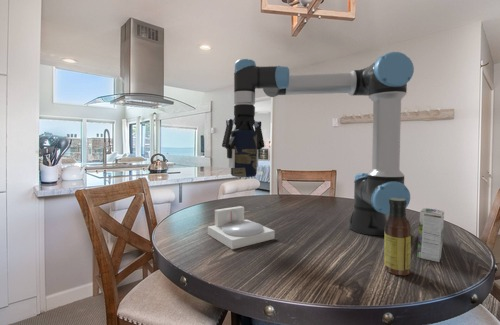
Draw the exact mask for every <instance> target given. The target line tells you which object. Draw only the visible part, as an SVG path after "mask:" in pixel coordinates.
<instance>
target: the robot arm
mask: <svg viewBox="0 0 500 325" xmlns="http://www.w3.org/2000/svg"><path fill="white" fill-rule="evenodd" d="M414 66H415V65H414V63H413V61H412V60H411V58H410V57H409V56H407V55H406V54H404V53H403V52H400V51H390V52H388V53H385V54H383V55H381V56H379V57H378V58H377V59H376V60H375V61H374V62H373V63H372V64H370V65H369V66H367V67H365V68H361V69H354V70H353V69H352V70H351V71H350V72H345V73H320V74H319V73H318V74H317V73H316V74H314V73H312V74H290V68H289V67H288V66H281V65H275V66H272V65H271V66H270V65H269V66H259V65H258V66H257V64H256V61H255V60H253V59H249V58H242V59H241V58H240V59H238V60H236V61H235V63H234V73H233V76H234V78H233V80H234V82H233V84H234V85H233V87H234V90H233V91H234V92H233V93H234V94H233V95H234V97H233V101H234V102H233V104H234V106H233V116H234V118H233V119H232V118H228V119H226V120H225V123H226V124H225V125H226V126H225V131H224V135H223V140H222V143H221V147H222V148H225V149H226V157H227V159H228V168H230V169H231V168H235V149H232V148H233V146H234V144H235V136H234V137H232V136H231V133H232V131H234V130H254V131H256V132H257V168H258V167H259V159H260V156H261V150H262V149H263V148H265V140H264V136H263V132H262V121H261V120H260V121H256V120H255V115H256V107H255V104H256V89H258V90H259V89H260V90H261V89H262V90H263V92H264V94H265V95H266V96H267V97H270V98H274V97H278V96H286V95H287V96H290V95H295V96H297V95H323V94H324V95H325V94H326V95H329V94H348V95H349V96H351V97H352V96H354V97H355V96H365V97H366V96H368V99H370V100H371V102H372V104H373V105H372V109H373V110H372V112H373V113H372V150H371V151H372V154H371V155H372V156H371V162H372V163H371V164H372V165H371V170H370V171H369V172H368V173H365V172H364V173H362V172H360V173H356V174H355V176H354V181H353V183H354V186H353V187H354V188H353V189H354V190H353V191H354V195H353V210H352V212H351V216H350V218H349V220H348V229H350V230H351V231H353V232H354V233H355V232H356V233H358V234H362V235H369V236H383V235H384V236H385V233H384V232H385V225H386V222H387V220H388V216H389V212H390V204H389V199H390V198H403V199H406V203H407V204H406V206H405V210H406V209H407V208H408V206H409V204H410V201H411V192H410V190H409V189H408V187H407V186H406V185H405V174H404V173H403V172H402V171H401V170H400V164H401V163H400V161H401V156H400V155H401V154H400V153H401V124H402V123H401V119H402V117H401V115H402V100H403V98H404V97H405V96H406V95H407V94H408V92H407V91H408V87H407V86H408V83H409V82H410V81H411V80H412V77H413V75H414V72H415V71H414V69H415V67H414ZM234 125H235V127H234ZM233 127H234V129H233ZM387 215H388V216H387Z"/></svg>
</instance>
